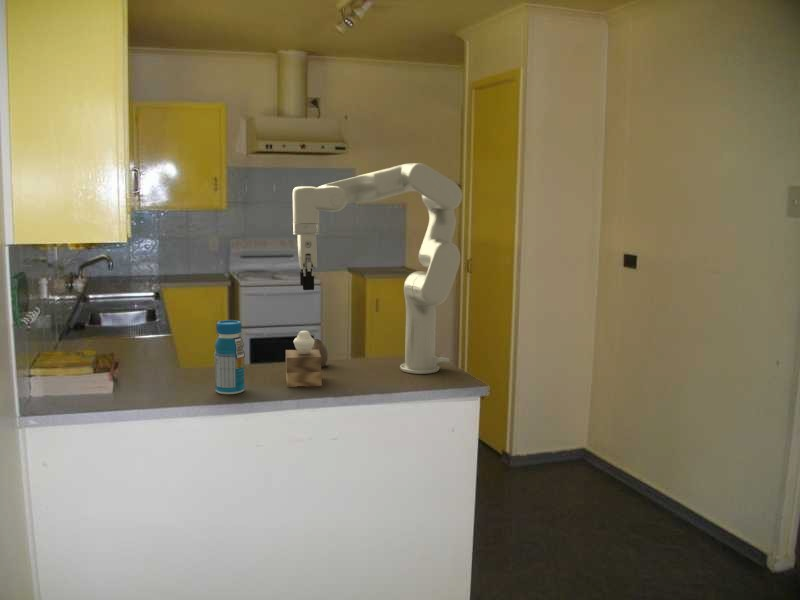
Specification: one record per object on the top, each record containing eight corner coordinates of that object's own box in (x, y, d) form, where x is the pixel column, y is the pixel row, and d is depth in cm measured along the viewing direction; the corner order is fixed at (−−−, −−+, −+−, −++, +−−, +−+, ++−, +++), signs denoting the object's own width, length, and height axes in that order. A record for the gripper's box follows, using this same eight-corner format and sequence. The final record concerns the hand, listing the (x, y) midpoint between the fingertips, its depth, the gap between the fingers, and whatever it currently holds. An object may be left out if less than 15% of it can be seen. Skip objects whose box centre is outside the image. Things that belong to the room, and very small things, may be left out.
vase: (324, 369, 242) (324, 342, 241) (303, 367, 243) (303, 341, 242) (330, 364, 249) (330, 338, 247) (310, 362, 250) (310, 336, 249)
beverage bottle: (217, 396, 210) (216, 325, 207) (212, 388, 218) (211, 320, 215) (248, 393, 214) (247, 323, 210) (241, 385, 221) (240, 318, 218)
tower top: (318, 363, 232) (318, 349, 231) (321, 371, 222) (321, 356, 221) (285, 364, 230) (285, 350, 229) (286, 372, 220) (286, 357, 219)
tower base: (319, 377, 232) (319, 363, 232) (321, 386, 223) (321, 371, 222) (286, 379, 231) (285, 364, 230) (287, 387, 221) (287, 372, 220)
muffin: (314, 350, 229) (314, 328, 228) (314, 355, 223) (314, 332, 222) (293, 350, 228) (293, 328, 227) (293, 355, 222) (293, 332, 221)
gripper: (322, 231, 213) (322, 291, 216) (316, 227, 230) (317, 283, 233) (295, 231, 212) (296, 292, 214) (291, 227, 228) (292, 283, 231)
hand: (307, 287), depth 223 cm, fingers open, 9 cm apart
